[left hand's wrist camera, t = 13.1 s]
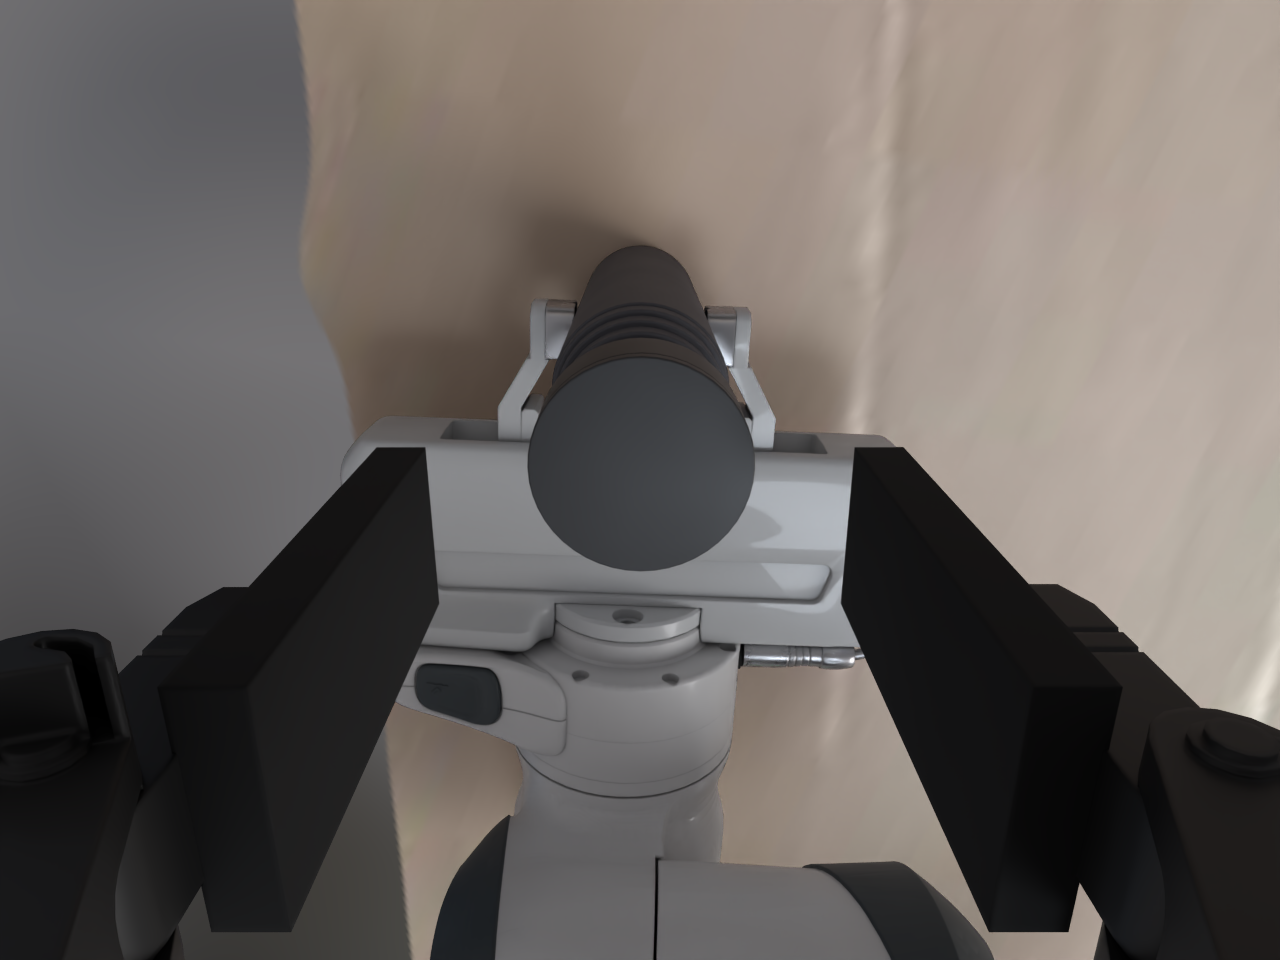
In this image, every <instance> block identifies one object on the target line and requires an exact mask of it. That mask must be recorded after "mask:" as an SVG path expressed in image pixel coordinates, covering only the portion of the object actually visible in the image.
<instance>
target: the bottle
mask: <svg viewBox="0 0 1280 960" xmlns="http://www.w3.org/2000/svg"><path fill="white" fill-rule="evenodd" d="M629 338H653V339H660V340H665V341H669V342H672V343H675V344H678V345H681V346H684V347H686V348H688V349H690V350H692V351H694V352H696V353H697V354H699V355H700V356H702V357H703V358H704V359H706V360H707V361H708V362H710V363H711V364H712V365H713V366H714V367H715V368H716V369H717V370H718V371H719V372H720V373H721V374H722V376H723V377H724V378H725V379H726V381H727V382H728V384H729V377H728V371H727V367H726V364H725V360H724V357H723V355H722V353H721V350H720V348H719V346H718V343H717V341H716V339H715V336H714V334H713V332H712V329H711V327H710V325H709V322H708V320H707V318H706V315H705V313H704V311H703V308H702V306H701V304H700V301H699V299H698V297H697V294H696V292H695V289H694V287H693V285H692V282H691V280H690V278H689V276H688V274H687V272H686V271H685V269H684V268H683V266H682V265H681V264H680V263H679V262H678V261H677V260H676V259H675V258H674V257H672V256H671V255H669V254H668V253H666V252H664V251H662V250H660V249H657V248H654V247H649V246H631V247H626V248H623V249H620V250H618V251H616V252H614V253H612V254H611V255H609V256H608V257H606V258H605V259H604V260H603V261H602V262H601V263H600V264H599V265H598V266H597V268H596V269H595V271H594V272H593V274H592V276H591V278H590V280H589V283H588V285H587V287H586V290H585V292H584V295H583V297H582V300H581V302H580V305H579V307H578V309H577V312H576V314H575V317H574V319H573V322H572V324H571V326H570V329H569V331H568V334H567V336H566V339H565V341H564V344H563V346H562V348H561V351H560V353H559V356H558V358H557V362H556V365H555V368H554V373H553V379H552V386H553V384H554V383H555V381H556V380H557V378H558V377H559V376H560V375H561V374H562V372H563V371H564V370H565V369H566V368H567V367H568V366H569V365H570V364H572V363H573V362H574V361H575V360H576V359H578V358H579V357H581V356H582V355H584V354H585V353H587V352H588V351H590V350H593V349H595V348H597V347H599V346H601V345H604V344H607V343H610V342H613V341H618V340H623V339H629Z"/></svg>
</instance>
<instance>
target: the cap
mask: <svg viewBox="0 0 1280 960" xmlns="http://www.w3.org/2000/svg"><path fill="white" fill-rule="evenodd" d="M527 469H528V478H529V484H530V488H531V492H532V496H533V498H534V501H535V503H536V506H537V508H538V510H539V512H540V514H541V515H542V517H543V519H544V521H545V522H546V523H547V525H548V526H549V527H550V529H551V530H552V531H553V532H554V533H555V534H556V535H557V536H558V537H559V538H560V539H561V540H562V542H564V543H565V544H566V545H567V546H569V547H570V548H571V549H573V550H574V551H575V552H577V553H579V554H580V555H582V556H584V557H585V558H587V559H590V560H592V561H594V562H596V563H598V564H602V565H605V566H608V567H611V568H616V569H621V570H627V571H655V570H661V569H667V568H671V567H674V566H678V565H681V564H684V563H686V562H688V561H691V560H693V559H695V558H697V557H699V556H700V555H702V554H704V553H705V552H707V551H708V550H710V549H711V548H712V547H714V546H715V545H716V544H718V543H719V542H720V541H721V540H722V539H723V538H724V537H725V536H726V535H727V534H728V533H729V532H730V530H731V529H732V528H733V526H734V525H735V524H736V523H737V521H738V520H739V518H740V516H741V514H742V513H743V511H744V509H745V507H746V504H747V502H748V500H749V497H750V494H751V490H752V486H753V482H754V474H755V452H754V446H753V440H752V437H751V434H750V430H749V427H748V425H747V422H746V420H745V417H744V415H743V412H742V410H741V407H740V405H739V403H738V400H737V398H736V396H735V394H734V392H733V390H732V388H731V387H730V385H729V384H728V382H727V381H726V379H725V378H724V377H723V376H722V374H721V373H720V372H719V371H718V370H717V369H716V368H715V367H714V366H713V365H712V364H711V363H710V362H708V361H707V360H706V359H704V358H703V357H702V356H700V355H699V354H697V353H696V352H694V351H692V350H690V349H688V348H686V347H684V346H681V345H678V344H675V343H672V342H669V341H665V340H660V339H653V338H629V339H623V340H618V341H613V342H610V343H607V344H604V345H601V346H599V347H597V348H595V349H593V350H590V351H588V352H587V353H585V354H584V355H582V356H581V357H579V358H578V359H576V360H575V361H574V362H573V363H572V364H570V365H569V366H568V367H567V368H566V369H565V370H564V371H563V372H562V374H561V375H560V376H559V377H558V378H557V380H556V381H555V383H554V384H553V386H552V387H551V389H550V390H549V392H548V394H547V397H546V399H545V401H544V403H543V406H542V408H541V411H540V413H539V416H538V418H537V421H536V423H535V426H534V429H533V432H532V435H531V439H530V443H529V449H528V463H527Z"/></svg>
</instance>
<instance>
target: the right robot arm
mask: <svg viewBox="0 0 1280 960" xmlns="http://www.w3.org/2000/svg"><path fill="white" fill-rule="evenodd" d="M576 312H577V301H574V300H557V299H534V301H533V302H532V304H531V313H530V353H529V355H528V356H527V358H526V360H525V361H524V363H523V365H522V366H521V368H520V370H519V372H518V373H517V375H516V377H515V378H514V380H513V382H512V383H511V385H510V387H509V389H508V390H507V392H506V394H505V395H504V397H503V399H502V401H501V402H500V404H499V406H498V420H488V419H463V418H437V417H411V416H385V417H382V418H380V419H379V420H377V421H376V422H375V423H374V424H372V425H371V426H370V427H369V428H368V429H367V430H366V431H364V432H363V433H362V434H361V435H360V436H359V438H358V439H357V440H356V441H355V442H354V443H353V445H352V446H351V447H350V449H349V450H348V451H347V453H346V455H345V457H344V459H343V462H342V466H341V486H342V485H343V483H344V482H345V481H346V480H347V479H348V478H349V477H350V476H351V475H352V474H353V472H354V471H355V470H356V469H357V468H358V467H359V466H360V465H361V464H362V463H363V462H364V460H365V459H366V458H367V457H368V456H369V455H370V454H371V453H372V452H373V451H374V450H375V448H376V447H426V459H427V470H428V481H429V492H430V504H431V515H432V526H433V537H434V549H435V560H436V571H437V582H438V594H439V606H438V608H437V610H436V612H435V614H434V617H433V619H432V621H431V623H430V625H429V628H428V630H427V632H426V634H425V637H424V639H423V641H422V643H421V645H420V648H419V650H418V652H417V654H416V656H415V659H414V661H413V663H412V665H411V668H410V670H409V672H408V674H407V676H406V679H405V681H404V683H403V685H402V687H401V690H400V692H399V694H398V696H397V698H396V701H395V702H397V703H399V704H400V705H402V706H405V707H407V708H410V709H413V710H416V711H420V712H423V713H426V714H430V715H433V716H437V717H440V718H443V719H446V720H449V721H453V722H456V723H459V724H462V725H465V726H468V727H471V728H474V729H476V730H479V731H482V732H485V733H487V734H490V735H492V736H495V737H497V738H500V739H503V740H505V741H507V742H509V743H512V744H514V745H515V747H516V750H517V753H518V756H519V760H520V763H521V767H522V772H523V781H522V784H521V787H520V789H519V792H518V795H517V799H516V803H515V811H514V816H510V815H508V816H507V817H505V818H504V819H503V820H501V821H500V822H499V823H498V824H497V825H496V826H495V827H494V828H493V829H492V830H491V831H490V832H489V833H488V834H487V835H486V836H485V838H484V839H483V840H482V841H481V843H480V844H479V845H478V846H477V847H476V849H475V850H474V851H473V852H472V853H471V855H470V856H469V857H468V858H467V860H466V861H465V862H464V863H463V864H462V866H461V867H460V868H459V870H458V871H457V873H456V875H455V877H454V878H453V880H452V882H451V884H450V886H449V889H448V891H447V893H446V896H445V898H444V901H443V904H442V907H441V910H440V914H439V917H438V921H437V925H436V929H435V934H434V939H433V944H432V950H431V957H430V960H994V958H993V956H992V953H991V951H990V949H989V947H988V945H987V943H986V942H985V940H984V939H983V938H982V937H981V935H980V934H979V933H978V932H977V930H976V929H975V928H974V927H973V926H972V925H971V924H970V922H969V921H968V920H967V919H966V918H965V917H964V916H963V915H962V914H961V913H960V912H959V911H958V910H957V909H956V908H955V907H954V906H953V905H952V904H951V903H950V902H949V901H948V900H947V899H946V898H945V897H944V896H943V895H942V894H940V893H939V892H938V891H937V890H936V889H935V888H934V887H933V886H931V885H930V884H929V883H928V882H927V881H925V880H924V879H923V878H922V877H920V876H919V875H918V874H917V873H915V872H914V871H913V870H912V869H910V868H909V867H908V866H906V865H904V864H902V863H900V862H894V861H893V862H866V863H837V864H810V865H806V866H803V867H802V868H797V867H780V866H764V865H747V864H731V863H720V855H721V847H722V837H723V808H722V803H721V799H720V795H719V792H718V779H719V777H720V775H721V773H722V771H723V768H724V766H725V764H726V761H727V759H728V755H729V751H730V747H731V741H732V731H733V720H734V710H735V699H736V688H737V672H738V669H740V666H745V667H773V668H779V667H793V666H800V665H801V666H807V665H808V666H816V667H819V668H821V669H830V670H839V669H847V668H851V667H853V666H854V664H855V660H859V659H864V658H865V656H864V654H863V652H862V650H861V648H860V649H855V648H854V647H860V645H859V643H858V641H857V639H856V637H855V634H854V632H853V630H852V628H851V625H850V623H849V621H848V619H847V617H846V614H845V612H844V610H843V608H842V606H841V594H842V582H843V571H844V560H845V549H846V537H847V526H848V515H849V504H850V492H851V481H852V470H853V459H854V447H896V446H895V445H894V444H893V443H892V442H891V441H889V440H888V439H887V438H885V437H883V436H879V435H865V434H840V433H815V432H790V431H775V421H776V418H775V416H774V414H773V412H772V410H771V408H770V406H769V404H768V401H767V399H766V397H765V395H764V393H763V391H762V389H761V387H760V385H759V383H758V381H757V378H756V376H755V374H754V372H753V370H752V368H751V366H750V364H749V362H748V357H749V345H750V333H751V312H750V311H749V309H748V308H747V307H727V306H705V309H704V313H705V315H706V318H707V320H708V322H709V325H710V327H711V329H712V332H713V334H714V336H715V339H716V341H717V343H718V346H719V348H720V350H721V353H722V355H723V357H724V360H725V364H726V366H728V368H729V370H730V372H731V374H732V376H733V378H734V380H735V382H736V384H737V386H738V388H739V390H740V392H741V394H742V396H743V398H744V400H745V402H746V405H744V403H743V402H738V403H739V405H740V407H741V410H742V412H743V415H744V417H745V420H746V422H747V425H748V427H749V430H750V434H751V437H752V440H753V446H754V452H755V474H754V482H753V486H752V490H751V494H750V497H749V500H748V502H747V504H746V507H745V509H744V511H743V513H742V514H741V516H740V518H739V520H738V521H737V523H736V524H735V525H734V526H733V528H732V529H731V530H730V532H729V533H728V534H727V535H726V536H725V537H724V538H723V539H722V540H721V541H720V542H719V543H718V544H716V545H715V546H714V547H712V548H711V549H710V550H708V551H707V552H705V553H704V554H702V555H700V556H699V557H697V558H695V559H693V560H691V561H688V562H686V563H684V564H681V565H678V566H674V567H671V568H667V569H661V570H655V571H627V570H621V569H616V568H611V567H608V566H605V565H602V564H598V563H596V562H594V561H592V560H590V559H587V558H585V557H584V556H582V555H580V554H579V553H577V552H575V551H574V550H573V549H571V548H570V547H569V546H567V545H566V544H565V543H564V542H562V540H561V539H560V538H559V537H558V536H557V535H556V534H555V533H554V532H553V531H552V530H551V529H550V527H549V526H548V525H547V523H546V522H545V521H544V519H543V517H542V515H541V514H540V512H539V510H538V508H537V506H536V503H535V501H534V498H533V496H532V492H531V488H530V484H529V478H528V469H527V463H528V449H529V443H530V439H531V435H532V432H533V429H534V426H535V423H536V421H537V418H538V416H539V413H540V411H541V408H542V406H543V403H544V397H543V395H542V394H531V395H530V396H528V395H529V393H530V392H531V390H532V388H533V387H534V385H535V383H536V381H537V380H538V378H539V376H540V375H541V373H542V371H543V370H544V368H545V366H546V365H547V363H548V361H549V359H557V358H558V356H559V353H560V351H561V348H562V346H563V344H564V341H565V339H566V336H567V334H568V331H569V329H570V326H571V324H572V322H573V319H574V317H575V314H576Z"/></svg>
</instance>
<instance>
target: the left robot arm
mask: <svg viewBox="0 0 1280 960" xmlns="http://www.w3.org/2000/svg"><path fill="white" fill-rule="evenodd" d="M438 606H439V594H438V582H437V571H436V560H435V549H434V537H433V526H432V515H431V504H430V492H429V481H428V470H427V459H426V447H376V448H375V450H374V451H373V452H372V453H371V454H370V455H369V456H368V457H367V458H366V459H365V460H364V462H363V463H362V464H361V465H360V466H359V467H358V468H357V469H356V470H355V471H354V472H353V474H352V475H351V476H350V477H349V478H348V479H347V480H346V481H345V482H344V483H343V485H342V486H341V487H340V488H339V489H338V490H337V491H336V492H335V493H334V494H333V495H332V497H331V498H330V499H329V500H328V501H327V502H326V503H325V504H324V505H323V506H322V507H321V509H320V510H319V511H318V512H317V513H316V514H315V515H314V516H313V517H312V518H311V519H310V521H309V522H308V523H307V524H306V525H305V526H304V527H303V528H302V529H301V530H300V531H299V533H298V534H297V535H296V536H295V537H294V538H293V539H292V540H291V541H290V542H289V544H288V545H287V546H286V547H285V548H284V549H283V550H282V551H281V552H280V553H279V555H278V556H277V557H276V558H275V559H274V560H273V561H272V562H271V563H270V564H269V565H268V566H267V568H266V569H265V570H264V571H263V572H262V573H261V574H260V575H259V576H258V577H257V578H256V580H255V581H254V582H253V583H252V584H251V585H250V586H249V587H223V588H221V589H219V590H217V591H215V592H213V593H212V594H210V595H208V596H206V597H204V598H203V599H201V600H199V601H197V602H195V603H193V604H191V605H190V606H188V607H186V608H185V609H184V610H183V611H182V612H181V613H180V614H179V615H178V616H177V617H176V618H175V619H174V620H173V621H172V622H171V623H170V624H169V625H168V626H167V627H166V628H165V629H164V630H163V631H162V635H159V636H157V637H156V638H155V639H154V640H153V641H152V642H151V643H149V644H148V645H147V646H146V647H145V648H144V649H143V651H142V652H143V653H142V656H136V657H135V658H134V659H133V660H132V661H131V662H130V663H129V664H128V665H127V666H126V667H125V668H124V669H123V670H122V671H121V672H120V673H119V674H118V671H117V667H116V663H115V658H114V654H113V650H112V646H111V642H110V641H109V640H107V639H106V638H104V637H103V636H101V635H100V634H98V633H96V632H89V631H83V630H76V629H66V630H52V631H40V632H36V633H31V634H26V635H22V636H17V637H13V638H8V639H5V640H2V641H0V960H185V959H184V950H183V943H182V939H181V935H180V931H179V927H178V923H179V922H180V920H181V918H182V917H183V915H184V913H185V912H186V910H187V908H188V907H189V905H190V903H191V902H192V900H193V898H194V897H195V895H196V893H197V892H198V890H199V889H200V887H202V891H203V896H204V900H205V904H206V909H207V914H208V918H209V923H210V927H211V932H291V931H292V929H293V926H294V924H295V922H296V920H297V918H298V915H299V913H300V911H301V909H302V907H303V904H304V902H305V900H306V898H307V895H308V893H309V891H310V889H311V887H312V884H313V882H314V880H315V878H316V876H317V873H318V871H319V869H320V867H321V865H322V862H323V860H324V858H325V856H326V853H327V851H328V849H329V847H330V845H331V842H332V840H333V838H334V836H335V833H336V831H337V829H338V827H339V825H340V822H341V820H342V818H343V816H344V814H345V811H346V809H347V807H348V805H349V803H350V800H351V798H352V796H353V794H354V791H355V789H356V787H357V785H358V783H359V780H360V778H361V776H362V774H363V772H364V769H365V767H366V765H367V763H368V760H369V758H370V756H371V754H372V752H373V749H374V747H375V745H376V743H377V740H378V738H379V736H380V734H381V732H382V729H383V727H384V725H385V723H386V721H387V718H388V716H389V714H390V712H391V710H392V707H393V705H394V703H395V701H396V698H397V696H398V694H399V692H400V690H401V687H402V685H403V683H404V681H405V679H406V676H407V674H408V672H409V670H410V668H411V665H412V663H413V661H414V659H415V656H416V654H417V652H418V650H419V648H420V645H421V643H422V641H423V639H424V637H425V634H426V632H427V630H428V628H429V625H430V623H431V621H432V619H433V617H434V614H435V612H436V610H437V608H438ZM841 606H842V608H843V610H844V612H845V614H846V617H847V619H848V621H849V623H850V625H851V628H852V630H853V632H854V634H855V637H856V639H857V641H858V643H859V645H860V648H861V650H862V652H863V654H864V656H865V659H866V661H867V663H868V665H869V668H870V670H871V672H872V674H873V676H874V679H875V681H876V683H877V685H878V687H879V690H880V692H881V694H882V696H883V698H884V701H885V703H886V705H887V707H888V710H889V712H890V714H891V716H892V718H893V721H894V723H895V725H896V727H897V729H898V732H899V734H900V736H901V738H902V741H903V743H904V745H905V747H906V749H907V752H908V754H909V756H910V758H911V760H912V763H913V765H914V767H915V769H916V772H917V774H918V776H919V778H920V780H921V783H922V785H923V787H924V789H925V791H926V794H927V796H928V798H929V800H930V803H931V805H932V807H933V809H934V811H935V814H936V816H937V818H938V820H939V822H940V825H941V827H942V829H943V831H944V834H945V836H946V838H947V840H948V842H949V845H950V847H951V849H952V851H953V853H954V856H955V858H956V860H957V862H958V865H959V867H960V869H961V871H962V873H963V876H964V878H965V880H966V882H967V884H968V887H969V889H970V891H971V893H972V896H973V898H974V900H975V902H976V904H977V907H978V909H979V911H980V913H981V915H982V918H983V920H984V922H985V924H986V926H987V929H988V931H989V932H1069V927H1070V923H1071V918H1072V914H1073V909H1074V905H1075V900H1076V896H1077V891H1078V887H1079V882H1080V884H1081V885H1082V887H1083V889H1084V890H1085V892H1086V894H1087V895H1088V897H1089V899H1090V900H1091V902H1092V904H1093V905H1094V907H1095V909H1096V910H1097V912H1098V913H1099V915H1100V917H1101V918H1102V920H1103V922H1102V927H1101V931H1100V935H1099V939H1098V943H1097V947H1096V952H1095V956H1094V960H1280V730H1278V729H1276V728H1273V727H1271V726H1269V725H1266V724H1264V723H1261V722H1259V721H1257V720H1254V719H1252V718H1249V717H1245V716H1241V715H1237V714H1233V713H1230V712H1226V711H1222V710H1218V709H1206V708H1200V707H1199V706H1198V705H1197V704H1196V703H1195V702H1194V701H1193V700H1192V699H1191V698H1190V697H1189V696H1188V695H1187V694H1186V693H1185V692H1184V691H1183V690H1182V689H1181V688H1180V687H1179V686H1178V685H1177V684H1175V683H1174V682H1173V681H1172V680H1171V679H1170V678H1169V677H1168V676H1167V675H1166V674H1165V673H1164V672H1163V671H1162V670H1161V669H1160V668H1159V667H1158V666H1157V665H1156V664H1155V663H1154V662H1153V661H1152V660H1151V659H1150V658H1149V657H1148V656H1147V655H1146V654H1145V653H1144V652H1139V651H1138V646H1137V645H1136V644H1135V643H1134V642H1133V641H1132V640H1131V639H1130V638H1128V637H1127V636H1126V635H1125V634H1124V633H1123V632H1119V631H1118V627H1117V626H1116V625H1115V624H1114V623H1113V622H1112V621H1111V620H1110V619H1109V618H1108V617H1107V616H1106V615H1105V614H1104V613H1103V612H1102V611H1101V610H1100V609H1099V608H1098V607H1097V606H1096V605H1095V604H1093V603H1091V602H1089V601H1088V600H1086V599H1084V598H1082V597H1080V596H1078V595H1076V594H1075V593H1073V592H1071V591H1069V590H1067V589H1065V588H1063V587H1062V586H1060V585H1058V584H1028V583H1027V582H1026V581H1025V580H1024V578H1023V577H1022V576H1021V575H1020V574H1019V573H1018V572H1017V571H1016V570H1015V569H1014V568H1013V566H1012V565H1011V564H1010V563H1009V562H1008V561H1007V560H1006V559H1005V558H1004V557H1003V556H1002V554H1001V553H1000V552H999V551H998V550H997V549H996V548H995V547H994V546H993V545H992V544H991V542H990V541H989V540H988V539H987V538H986V537H985V536H984V535H983V534H982V533H981V531H980V530H979V529H978V528H977V527H976V526H975V525H974V524H973V523H972V522H971V521H970V519H969V518H968V517H967V516H966V515H965V514H964V513H963V512H962V511H961V510H960V509H959V507H958V506H957V505H956V504H955V503H954V502H953V501H952V500H951V499H950V498H949V497H948V495H947V494H946V493H945V492H944V491H943V490H942V489H941V488H940V487H939V486H938V485H937V483H936V482H935V481H934V480H933V479H932V478H931V477H930V476H929V475H928V474H927V472H926V471H925V470H924V469H923V468H922V467H921V466H920V465H919V464H918V463H917V462H916V460H915V459H914V458H913V457H912V456H911V455H910V454H909V453H908V452H907V451H906V450H905V448H904V447H854V459H853V470H852V481H851V492H850V504H849V515H848V526H847V537H846V549H845V560H844V571H843V582H842V594H841Z"/></svg>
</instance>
